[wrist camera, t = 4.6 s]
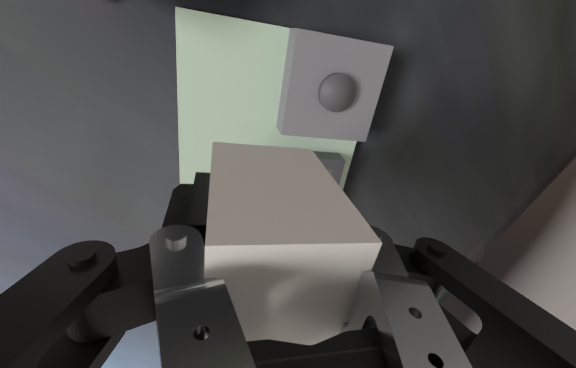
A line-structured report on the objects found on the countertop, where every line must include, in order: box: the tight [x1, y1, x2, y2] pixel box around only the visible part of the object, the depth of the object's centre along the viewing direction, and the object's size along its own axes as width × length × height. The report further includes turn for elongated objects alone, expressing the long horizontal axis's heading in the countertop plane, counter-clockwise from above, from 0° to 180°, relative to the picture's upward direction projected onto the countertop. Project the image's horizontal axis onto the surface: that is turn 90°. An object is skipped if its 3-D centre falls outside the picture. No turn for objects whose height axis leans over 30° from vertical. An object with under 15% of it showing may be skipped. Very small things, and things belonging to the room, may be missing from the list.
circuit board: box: [175, 7, 394, 190], centre depth 26 cm, size 20×17×4 cm
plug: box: [204, 142, 382, 345], centre depth 10 cm, size 5×4×6 cm
